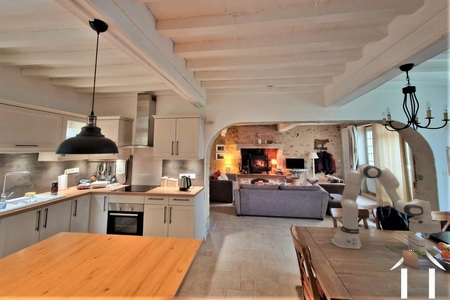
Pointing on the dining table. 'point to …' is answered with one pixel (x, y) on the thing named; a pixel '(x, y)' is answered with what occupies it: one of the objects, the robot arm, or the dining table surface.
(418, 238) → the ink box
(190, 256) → the dining table surface
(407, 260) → the brown rounded lump
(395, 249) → the mat
